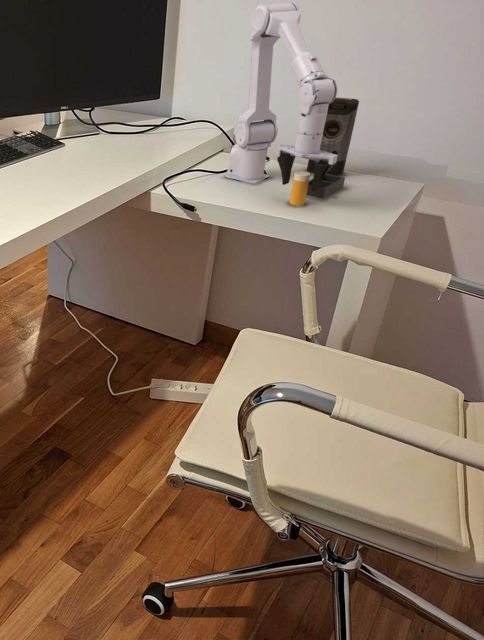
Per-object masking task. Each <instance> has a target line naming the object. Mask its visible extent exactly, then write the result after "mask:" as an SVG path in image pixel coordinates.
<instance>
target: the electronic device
mask: <svg viewBox="0 0 484 640" xmlns="http://www.w3.org/2000/svg"><path fill="white" fill-rule="evenodd" d="M359 104H360V101H359V99H357V98H347V97H336V98H335V100H334V101H333V102H332V103H330V104H329V106H328V111H327V116H326V121H325V126H324V130H323V136H322V140H321V145H320V150H322V151H325V152H328V153H331V154H335V155H338V156H337V161H336V163H335V164H333V165H332V166H331V167H330V168H329V170H328V171H327V172H326V174H329V175H334V176H339V177H343V174H344V171H345V168H346V162H347V158H348V154H349V150H350V145H351V141H352V136H353V131H354V127H355V123H356V117H357V114H358V109H359ZM316 163H319V161H315V160H310V159H308V162H307V168H306V172H309V173H310V175H314V164H316Z"/></svg>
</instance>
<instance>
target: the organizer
mask: <svg viewBox="0 0 484 640" xmlns="http://www.w3.org/2000/svg"><path fill="white" fill-rule="evenodd" d="M345 181H346V177H343V176H340V177H339V176H334V175H329V174H325V175H324V177H323V179H322V181H321V183H320V185H319V187H318V190H316V191H314V192H313V191H311V187H312V183H313V178H311V179H310V180H309V184H308V189H307V194H306V196H307V197H314V198H318V199H322V200H324V199H325V198H327V197H328V196H330V195H332V194H333V193H335V192H337V191H339V190H340V189H342V188H344V185H345Z"/></svg>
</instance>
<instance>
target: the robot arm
mask: <svg viewBox="0 0 484 640" xmlns="http://www.w3.org/2000/svg"><path fill="white" fill-rule="evenodd" d="M250 16H251V17H250V32H249V33H250V34H249V40H250V42H251V56H250V70H249V71H250V73H249V91H248V106H247V107H248V108H247V110H246V111H245V112H244V113H243V114H241V115H240V116H239V117H238V119H237V120H238V121H237V126H236V129H235V131H234V139H235V144H234V145H233V146H232V147H231V149H230V152H229V155H228V156H229V157H228V164H227V170H226V171H227V172H226V175H225V178H228V179H232V180H236V181H241V182H247V183H251V184H257V183H259V182H261V181H263V180H266V179H268V178H269V177H270V175H269V174H267V173H265V168H266V162H267V155H268V149H269V148H270V147H271V145H272V144H273V143H274V142H275V140H276V139H277V136H278V133H279V132H278V131H279V130H278V129H279V128H278V125H277V115H276V113H274V112H273V111H272V110H271V109H270V101H271V100H270V99H271V85H272V84H271V82H272V69H273V56H274V55H273V54H274V45H275V44H276V43H277V42H278V41H279V39H281V40H282V42H283V43H284V46H285V47H286V49H287V50H288V53H289V55H290V56H291V57H292V59H293V61H292V63H291V66H290V68H291V70H292V72H293V74H294V76H295V77H294V78H295V79H296V81H297V83H298V86H299V88H300V90H299V91H298V101H299V109H298V110H299V113H300V116H299V122H298V127H297V132H296V139H295V143H294V145H290V144H289V145H288V144H278V145H277V146H276V150H275V154H276V155H279V156H278V157H277V158H276V161H277V163H278V166H279V168H280V175H281V182H282V185H283V186H286V185H288V184H289V183H290V180H291V175H292V170H293V165H294V163H295V160H296V158H300V159H305V160H309V159H310V160H315V161H319V163H316V164H314V174H313V178H312V179H313V183H312V187H311V191H313V192H314V191H316V190H318V187H319V185H320V183H321V181H322V179H323V177H324V175H325V174H326V172H327V171H328V170H329V168H330V167H331V166H332V165H333V164H335V163H336V161H337V156H338V155H335V154H331V153H328V152H325V151H322V150H320V145H321V140H322V136H323V130H324V126H325V121H326V116H327V111H328V106H329V104H330V103H332V102H333V101H334V100H335V98H337V95H338V84H337V82H336V79H335V78H334V77H332V76H329V74H326V73H325V71H324V69H323V67H322V64H321V62H320V60H319V58H318V56H317V54H316V52H312V51H309V49H308V46H307V44H306V41H305V38H304V35H303V33H302V29H301V27H300V23H301V22H300V21H301V19H302V18H301V17H302V13H301V11H300V8H299V6H298V4H297V3H296V2H294V1H290V2H286V3H285V2H284V3H277V4H276V3H274V4H259V5H258V6H257V7H256V8H255V9H254V11H253V13H252V14H251V15H250Z"/></svg>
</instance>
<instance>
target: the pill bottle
mask: <svg viewBox="0 0 484 640" xmlns="http://www.w3.org/2000/svg"><path fill="white" fill-rule="evenodd" d="M310 178H311V174H310V173H309V172H307V171H306V170H305V171H304V170H299V171H295V172H294V176H293V180H292V186H291V191H290V198H289V204H290V205H292V206H304V205H305V203H306V198H307V195H306V194H307V189H308V184H309V180H311V179H310Z"/></svg>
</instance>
